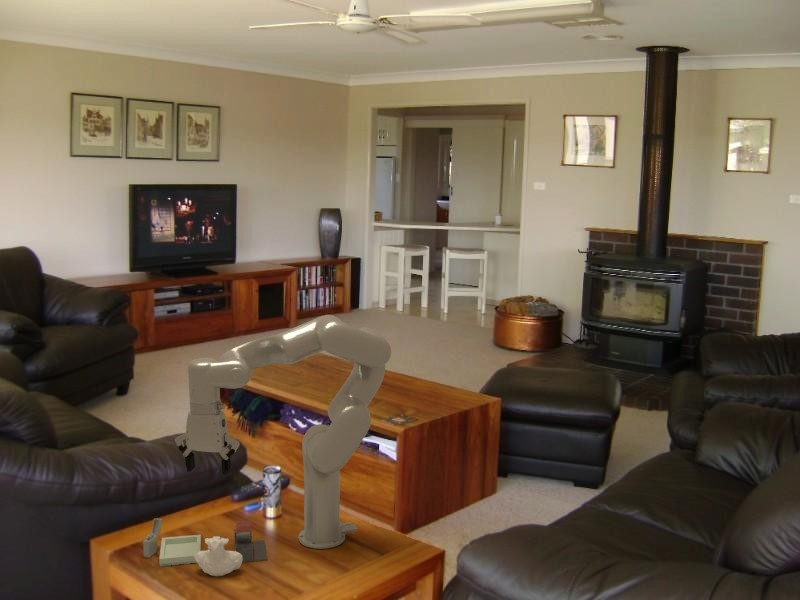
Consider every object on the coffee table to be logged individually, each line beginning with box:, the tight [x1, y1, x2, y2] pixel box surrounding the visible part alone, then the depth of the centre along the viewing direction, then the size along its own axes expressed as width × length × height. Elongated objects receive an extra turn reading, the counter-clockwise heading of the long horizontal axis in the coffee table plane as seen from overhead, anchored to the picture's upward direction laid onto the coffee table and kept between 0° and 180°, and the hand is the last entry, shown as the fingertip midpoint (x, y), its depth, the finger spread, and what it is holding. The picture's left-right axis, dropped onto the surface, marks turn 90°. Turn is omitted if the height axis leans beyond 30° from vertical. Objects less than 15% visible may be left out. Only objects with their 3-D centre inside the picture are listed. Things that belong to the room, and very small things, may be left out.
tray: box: [158, 534, 202, 567], centre depth 223 cm, size 10×12×2 cm
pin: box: [235, 519, 251, 545], centre depth 224 cm, size 4×4×8 cm
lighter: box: [142, 517, 163, 558], centre depth 224 cm, size 7×2×8 cm, turn 166°
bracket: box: [233, 527, 268, 563], centre depth 225 cm, size 8×11×4 cm
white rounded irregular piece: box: [194, 535, 243, 577], centre depth 212 cm, size 12×8×11 cm
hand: (208, 471), depth 221 cm, fingers open, 9 cm apart
